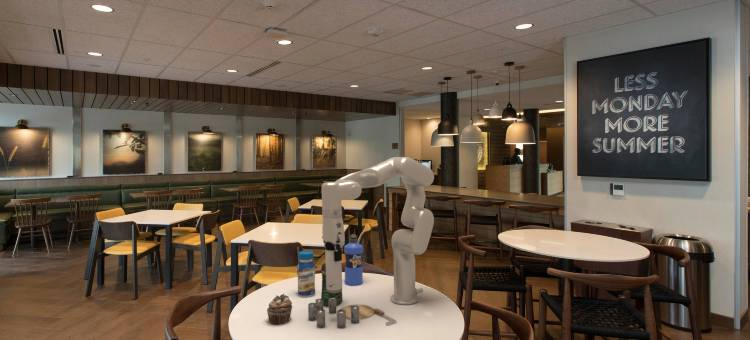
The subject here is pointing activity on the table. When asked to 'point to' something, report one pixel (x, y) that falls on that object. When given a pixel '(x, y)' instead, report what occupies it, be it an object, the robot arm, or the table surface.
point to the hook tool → (385, 316)
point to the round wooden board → (363, 311)
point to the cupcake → (279, 310)
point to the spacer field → (319, 313)
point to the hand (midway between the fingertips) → (333, 258)
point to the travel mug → (332, 270)
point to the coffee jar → (325, 294)
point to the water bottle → (353, 262)
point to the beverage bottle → (306, 274)
